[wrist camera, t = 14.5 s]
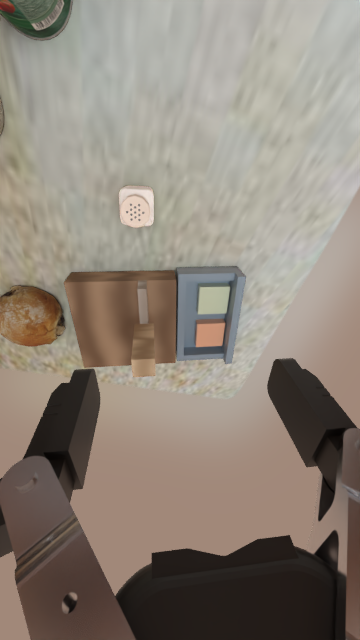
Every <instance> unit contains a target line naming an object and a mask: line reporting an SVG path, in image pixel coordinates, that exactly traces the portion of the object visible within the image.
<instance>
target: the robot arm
mask: <svg viewBox="0 0 360 640" xmlns="http://www.w3.org/2000/svg"><path fill="white" fill-rule="evenodd" d="M3 124H4V113H3V107H2V102H1V99H0V135H1V133H2V129H3ZM267 386H268V394H269V396H270V398H271V400H272V402H273V404H274V406H275V408H276V410H277V412H278V414H279V416H280V418H281V419H282V421H283V423H284V425H285V427H286V429H287V431H288V433H289V435H290V436H291V438H292V440H293V442H294V444H295V446H296V448H297V450H298V452H299V454H300V456H301V458H302V460H303V461H304V463H305V465H306V467H313V466H318V468H319V469H320V471H321V473H320V476H319V481H318V490H317V498H316V507H315V515H314V523H313V528H312V531H311V534H310V537H309V540H308V544H307V549H306V550H304V549H301V548H298V547H295V546H294V545H293V543H292V540H291V538H290V535H288V536H280V537H272V538H265V539H257V540H255V541H253V542H252V543H250V544H248V545H246V546H244V547H242V548H240V549H238V550H237V551H235V552H233V553H231V554H229V555H227V556H220V555H215V554H210V553H206V552H201V551H196V550H192V549H179V550H172V551H164V552H156V553H152V563H151V564H149V565H147V566H145V567H143V568H142V569H140V570H139V571H138V572H136V573H135V574H134V575H133V576H132V577H131V578H130V579H129V580H128V581H127V582H126V583H125V584H124V585H123V587H121V589H120V590H119V591H118V593H117V594H116V596H115V595H114V593H113V592H112V589H111V587H110V585H109V583H108V581H107V579H106V577H105V575H104V573H103V571H102V569H101V566H100V564H99V562H98V560H97V558H96V556H95V554H94V552H93V550H92V548H91V546H90V544H89V542H88V540H87V537H86V535H85V533H84V531H83V529H82V527H81V525H80V523H79V521H78V519H77V517H76V515H75V513H74V511H73V509H72V507H71V505H70V500H71V496H72V491H73V490H76V489H82V488H83V485H84V480H85V475H86V470H87V466H88V460H89V456H90V451H91V446H92V442H93V437H94V432H95V427H96V423H97V418H98V413H99V408H100V392H99V388H98V383H97V378H96V374H95V370H94V369H80V370H75V371H74V372H73V375H72V377H71V380H70V383H61V384H60V385H59V386H58V387H57V389H55V391H54V392H53V393H52V394H51V396H50V399H49V401H48V404H47V407H46V408H45V410H44V413H43V417H41V419H40V422H39V424H38V426H37V429H36V431H35V433H34V436H33V438H32V440H31V442H30V445H29V447H28V449H27V452H26V454H25V456H24V458H23V459H22V460H21V461H19V462H18V463H16V464H15V465H14V466H12V467H11V468H10V469H9V470H8V471H7V472H6V474H5V475H4V476H3V478H1V479H0V557H2V556H4V555H6V554H8V553H10V552H12V551H13V552H14V555H15V559H16V564H17V568H16V569H15V580H16V585H17V590H18V593H19V597H20V601H21V605H22V608H23V612H24V616H25V620H26V623H27V628H28V631H29V635H30V639H31V640H360V429H359V428H357V427H356V426H355V424H354V423H353V422H352V421H351V420H350V418H349V417H348V416H347V414H346V413H345V412H344V411H343V409H342V408H341V407H340V406H339V405H338V403H337V402H336V401H335V400H334V398H333V397H332V396H330V393H329V392H328V391H327V389H326V388H324V386H323V384H322V383H321V382H320V381H319V380H318V378H317V377H316V376H315V375H313V374H312V373H310V372H309V371H308V370H306V369H302V368H301V367H300V366H299V365H298V363H297V362H296V361H295V360H294V359H293V358H289V359H276V360H275V361H274V363H273V366H272V370H271V373H270V377H269V381H268V385H267Z"/></svg>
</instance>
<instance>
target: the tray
mask: <svg viewBox="0 0 360 640" xmlns="http://www.w3.org/2000/svg"><path fill="white" fill-rule="evenodd" d="M245 280H246V276H245V275H244V274H243V273H242V271H241V270H240V269H239V268H238V267H237V266H235V267H177V278H176V357H177V361H186V360H204V359H224V362H225V364H230V363H232V358H233V352H234V346H235V340H236V334H237V328H238V322H239V316H240V310H241V304H242V298H243V292H244V286H245ZM198 283H228V284H229V285H230V292H229V299H228V306H227V313H223V314H198V313H197V310H196V309H197V294H198ZM198 319H224V322H225V329H224V337H223V344H222V346H208V347H196V346H195V327H196V320H198Z"/></svg>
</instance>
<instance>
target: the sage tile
mask: <svg viewBox="0 0 360 640" xmlns="http://www.w3.org/2000/svg"><path fill="white" fill-rule="evenodd" d="M229 292H230V285H229V284H228V283H198V294H197V309H196V310H197V313H198V314H223V313H227V306H228V299H229Z"/></svg>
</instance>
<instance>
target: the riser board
mask: <svg viewBox="0 0 360 640" xmlns="http://www.w3.org/2000/svg"><path fill="white" fill-rule="evenodd" d="M138 280H147V297H148V315H149V324H152V323H154V340H155V364H159V363H175V353H176V276H175V272H174V271H121V272H71V274H70V275H69V276H68V278H67V279H66V280H65V282H64V285H65V289H66V293H67V298H68V302H69V306H70V310H71V314H72V318H73V322H74V327H75V331H76V335H77V339H78V343H79V347H80V351H81V355H82V360H83V364H84V368H86V367H105V366H123V365H132V363H131V356H132V346H133V336H134V325H135V324H140V316H139V303H138V291H137V288H138Z"/></svg>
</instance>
